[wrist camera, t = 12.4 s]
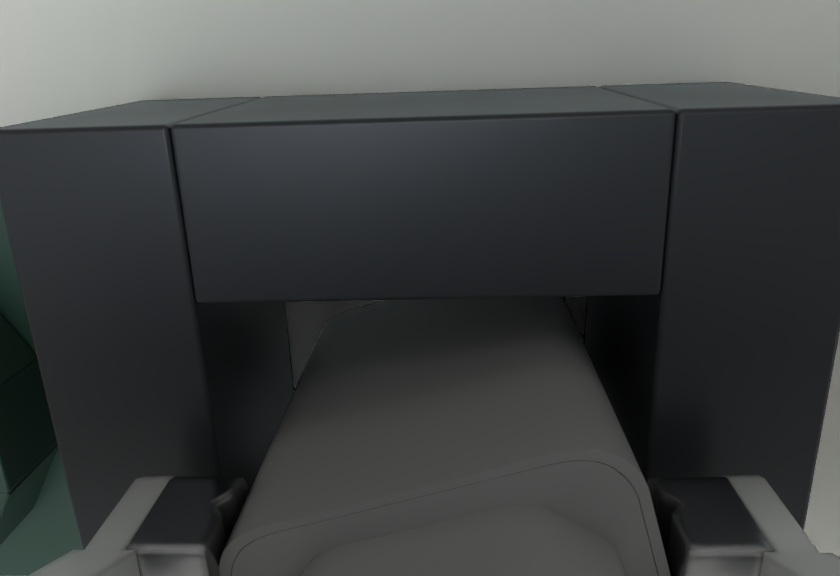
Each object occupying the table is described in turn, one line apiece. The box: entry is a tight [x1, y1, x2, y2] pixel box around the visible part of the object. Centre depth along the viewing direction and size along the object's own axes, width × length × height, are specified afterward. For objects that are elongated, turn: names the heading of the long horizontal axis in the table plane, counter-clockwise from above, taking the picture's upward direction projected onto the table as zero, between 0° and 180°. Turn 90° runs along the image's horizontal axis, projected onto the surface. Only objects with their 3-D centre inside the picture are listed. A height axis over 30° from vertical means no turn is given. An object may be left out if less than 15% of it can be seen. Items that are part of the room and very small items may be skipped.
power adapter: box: [219, 297, 671, 576], centre depth 10 cm, size 3×5×12 cm, turn 108°
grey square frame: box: [0, 82, 840, 550], centre depth 13 cm, size 12×12×5 cm
